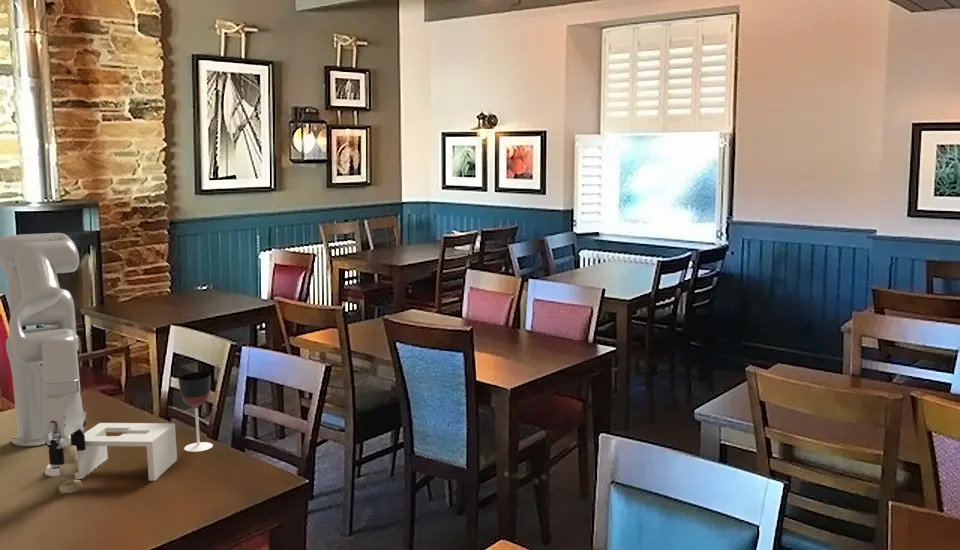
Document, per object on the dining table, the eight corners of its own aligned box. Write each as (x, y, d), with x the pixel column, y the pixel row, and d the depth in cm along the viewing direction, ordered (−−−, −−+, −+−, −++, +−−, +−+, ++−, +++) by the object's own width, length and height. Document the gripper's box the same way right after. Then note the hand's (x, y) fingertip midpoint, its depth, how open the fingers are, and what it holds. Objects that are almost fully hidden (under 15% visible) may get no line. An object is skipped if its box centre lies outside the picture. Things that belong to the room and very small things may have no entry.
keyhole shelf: (75, 479, 209) (72, 441, 207) (102, 459, 222) (99, 422, 221) (154, 480, 208) (152, 441, 206) (177, 460, 222) (174, 423, 220)
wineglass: (220, 443, 234) (216, 373, 231) (200, 453, 226) (196, 381, 223) (196, 440, 237) (192, 371, 234) (176, 450, 229) (171, 378, 226)
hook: (86, 456, 210) (59, 443, 208) (63, 491, 213) (37, 478, 211) (96, 440, 217) (70, 427, 215) (74, 474, 220) (48, 462, 218)
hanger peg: (66, 485, 205) (62, 444, 204) (85, 485, 205) (82, 444, 203) (55, 493, 200) (51, 451, 199) (75, 493, 200) (71, 451, 199)
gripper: (66, 378, 207) (71, 445, 210) (25, 397, 190) (32, 470, 193) (96, 377, 207) (101, 445, 209) (58, 397, 190) (64, 470, 192)
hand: (68, 457), depth 201 cm, fingers open, 9 cm apart
